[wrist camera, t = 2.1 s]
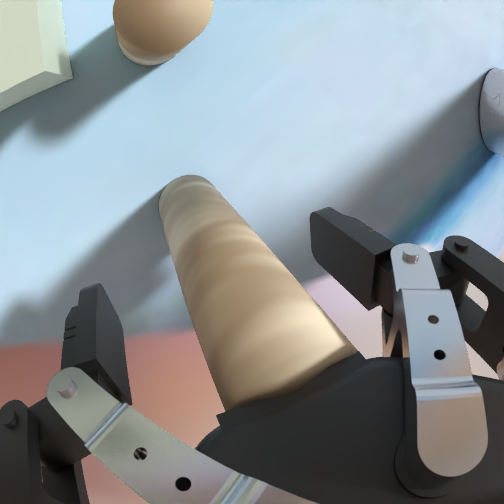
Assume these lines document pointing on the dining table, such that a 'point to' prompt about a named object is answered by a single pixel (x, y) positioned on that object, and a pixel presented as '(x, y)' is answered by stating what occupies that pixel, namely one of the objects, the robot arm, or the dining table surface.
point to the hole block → (31, 49)
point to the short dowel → (158, 27)
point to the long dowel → (244, 300)
